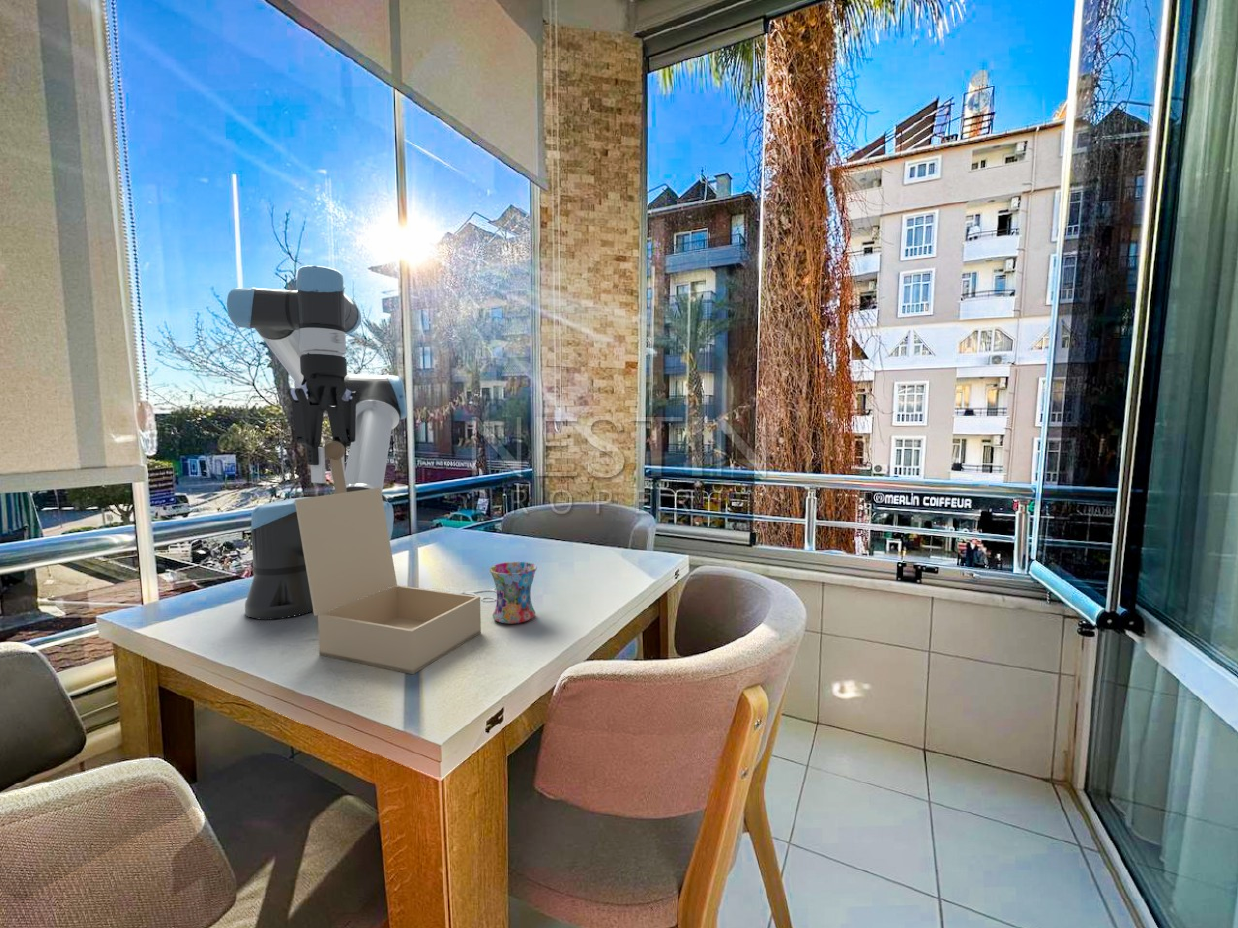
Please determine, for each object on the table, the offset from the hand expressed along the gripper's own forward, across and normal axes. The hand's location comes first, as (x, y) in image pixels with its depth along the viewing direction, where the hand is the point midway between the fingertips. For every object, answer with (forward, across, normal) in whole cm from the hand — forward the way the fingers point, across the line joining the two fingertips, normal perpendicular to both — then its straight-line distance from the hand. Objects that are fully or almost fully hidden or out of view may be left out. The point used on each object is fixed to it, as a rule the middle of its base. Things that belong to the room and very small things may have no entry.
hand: (328, 481), depth 99 cm
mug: (+29, +18, -29) cm, 45 cm away
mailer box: (+29, 0, -17) cm, 33 cm away
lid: (+7, 0, -6) cm, 9 cm away
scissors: (+29, +28, -10) cm, 42 cm away
